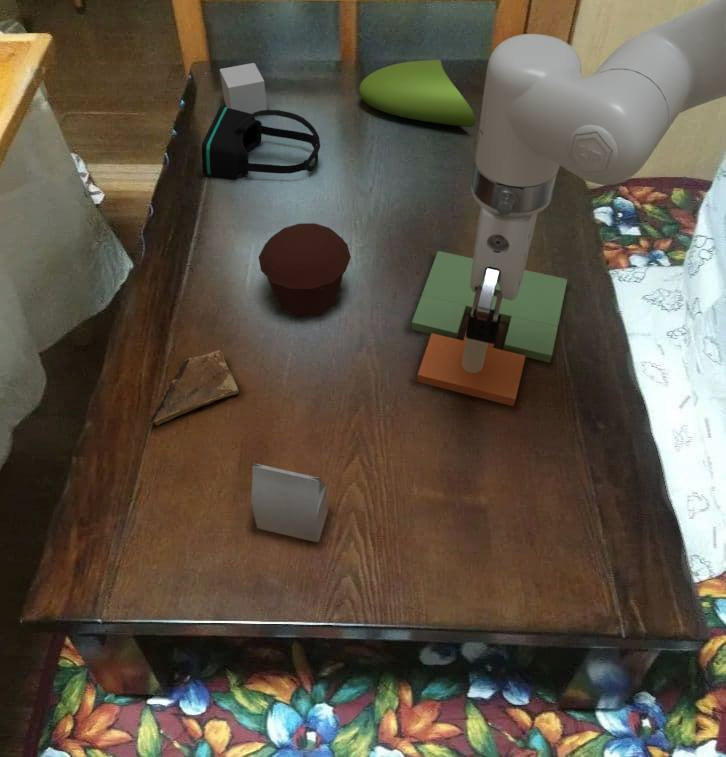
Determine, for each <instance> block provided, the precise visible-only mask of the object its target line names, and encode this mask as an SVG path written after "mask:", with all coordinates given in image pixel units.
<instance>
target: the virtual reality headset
mask: <svg viewBox="0 0 726 757" xmlns="http://www.w3.org/2000/svg"><path fill="white" fill-rule="evenodd" d="M260 116H261V117H262V116H275V117H276V116H277V117H281V118H287V119H290V120H294V121H296V122H298V123H300V124H302V125H303V126H304V127H305V128H307V129H308V131H310V133H311V134H310V133H306V132H300V131H295V130H290V129H289V130H288V129H282V128H276V127H269V126H265V125H262V124H263V123H262V122H261V120H260V119H259V120H258V119H256V117H260ZM262 135H265V136H270V137H276V138H282V139H288V140H289V139H290V140H295V141H300V142H305V143H307V144H310V145H311V146H312V148H313V150H312V152H311V154H310V155H309V156H308V158H307V159H305V160H303V161H302V162H301V163H297V164H292V165H291V164H289V165H279V164H278V165H277V164H269V163H267V164H266V163H252V162H249V152H250V151H251V150H253V149H255V148H257V147H258V146H260V145H261V143H262ZM320 140H321V139H320V136H319V133H318V132H317V130H316V128H315V127H314V126H313V124H311V123H310V122H309V121H308V120H307V119H306V118H304V117H303V116H300V115H299V114H296V113H293V112H289V111H285V110H279V109H267V110H261V111H258V112H255V113H253V114H250V113H246V112H243V111H239V110H235V109H231V108H227V106H223V105H220V107H219V108H218V110H217V112H216V115H215V117H213V120H212V123H211V124H210V127H209V129H208V131H207V132H206V135H205V137H204V139H203V140H202V144H201V164H202V165H201V166H202V167H201V168H202V173H203V174H206V175H212V176H217V177H223V178H229V179H236V178H238V177H239V176H241V175H243V176H248V174H249V172H254V173H266V174H267V173H268V174H295V173H299V172H302V171H307V172H308V173H311V172H313V171H314V170H315V168H316V167H317V164H318V162H319V152H320V149H321V141H320ZM313 160H314V165H311V163H312V162H313Z"/></svg>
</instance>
